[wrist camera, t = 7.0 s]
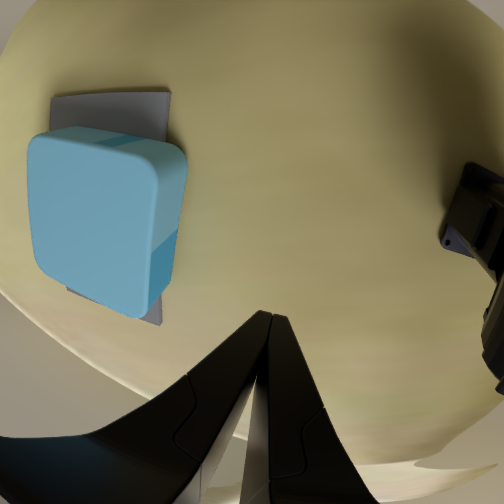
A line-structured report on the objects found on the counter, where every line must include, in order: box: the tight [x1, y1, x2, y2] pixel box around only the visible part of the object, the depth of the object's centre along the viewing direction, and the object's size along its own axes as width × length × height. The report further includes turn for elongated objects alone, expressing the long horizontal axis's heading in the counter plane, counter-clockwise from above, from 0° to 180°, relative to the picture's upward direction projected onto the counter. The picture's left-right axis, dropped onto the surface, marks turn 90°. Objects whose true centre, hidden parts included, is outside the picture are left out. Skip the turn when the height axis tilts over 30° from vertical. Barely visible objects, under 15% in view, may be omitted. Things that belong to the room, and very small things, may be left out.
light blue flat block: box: [27, 126, 188, 318], centre depth 19 cm, size 12×4×12 cm
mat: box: [50, 92, 171, 326], centre depth 22 cm, size 12×20×1 cm, turn 171°
